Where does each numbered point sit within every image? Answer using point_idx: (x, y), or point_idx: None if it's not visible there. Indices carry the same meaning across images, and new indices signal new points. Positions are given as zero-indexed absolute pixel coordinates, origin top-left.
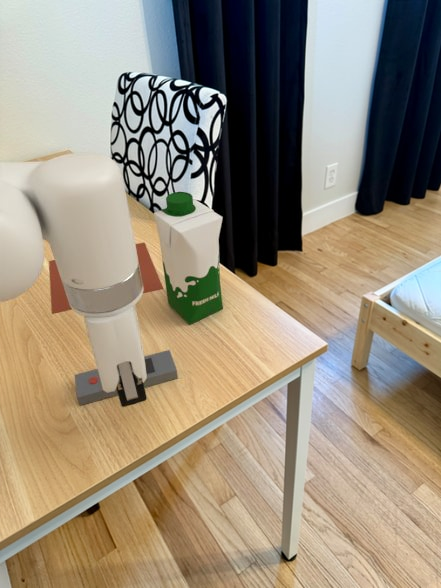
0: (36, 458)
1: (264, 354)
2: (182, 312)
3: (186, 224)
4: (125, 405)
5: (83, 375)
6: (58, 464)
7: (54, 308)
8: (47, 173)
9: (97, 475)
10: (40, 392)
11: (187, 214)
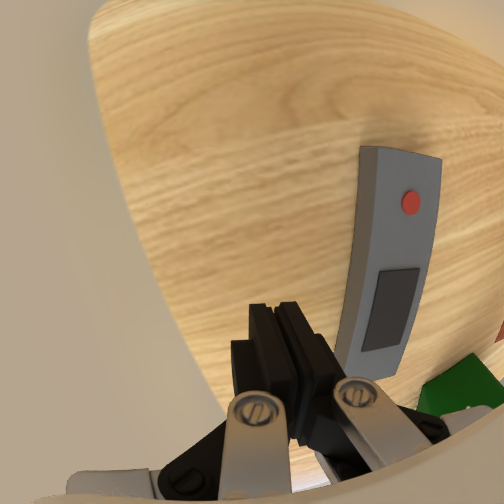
0: (235, 28)
1: (302, 463)
2: (445, 389)
3: None
4: (249, 315)
5: (433, 180)
6: (194, 72)
7: None
8: None
9: (127, 167)
10: (420, 75)
11: None
